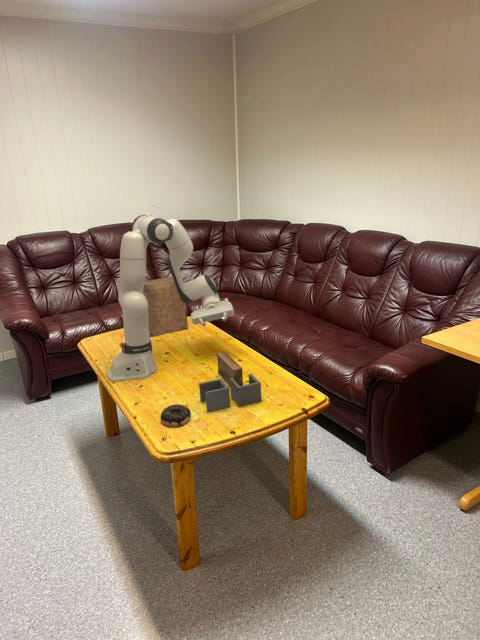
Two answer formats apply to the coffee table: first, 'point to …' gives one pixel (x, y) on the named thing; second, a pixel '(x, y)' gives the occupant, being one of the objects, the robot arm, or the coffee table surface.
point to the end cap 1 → (214, 394)
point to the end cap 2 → (246, 391)
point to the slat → (229, 368)
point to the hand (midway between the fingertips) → (213, 322)
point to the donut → (175, 415)
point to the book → (164, 307)
